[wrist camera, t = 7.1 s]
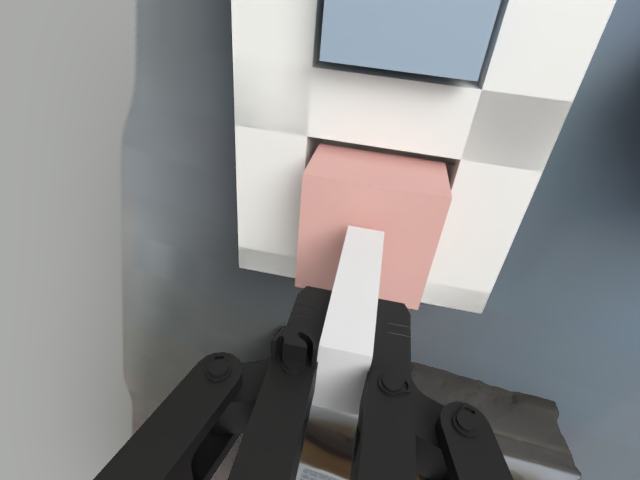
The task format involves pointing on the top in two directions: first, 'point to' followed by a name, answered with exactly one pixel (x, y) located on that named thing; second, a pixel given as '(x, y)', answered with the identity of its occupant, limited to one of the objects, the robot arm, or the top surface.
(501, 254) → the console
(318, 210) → the key rose
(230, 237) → the top surface
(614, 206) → the top surface
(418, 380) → the bible
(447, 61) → the key slate
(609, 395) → the top surface
